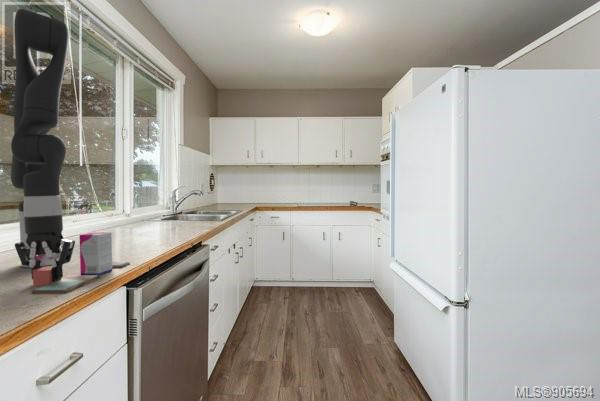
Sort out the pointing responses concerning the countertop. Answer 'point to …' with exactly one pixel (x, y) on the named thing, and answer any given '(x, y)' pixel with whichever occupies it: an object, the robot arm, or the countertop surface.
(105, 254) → the supplement box
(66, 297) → the countertop surface
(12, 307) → the countertop surface
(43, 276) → the cube
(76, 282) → the track
